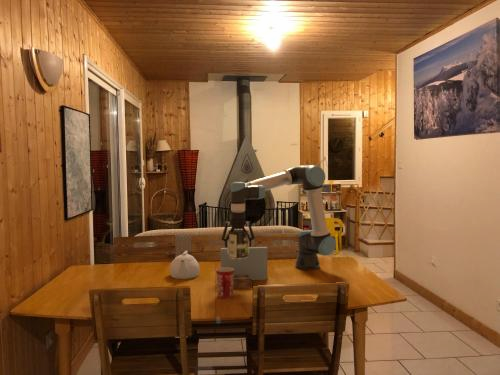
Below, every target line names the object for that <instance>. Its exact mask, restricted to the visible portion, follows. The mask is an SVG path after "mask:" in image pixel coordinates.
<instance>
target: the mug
mask: <svg viewBox="0 0 500 375" xmlns="http://www.w3.org/2000/svg"><path fill="white" fill-rule="evenodd" d="M215 274H216V285H217V287H216V290H217V297H218V298H219V299H230V298H232V297H233V296H234V288H233V277H234V269H233V268H229V267H222V268H221V267H218V268H216V269H215Z"/></svg>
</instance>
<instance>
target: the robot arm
mask: <svg viewBox="0 0 500 375" xmlns="http://www.w3.org/2000/svg"><path fill="white" fill-rule="evenodd" d="M325 181H326V173H325V170H324V169H323V168H322V167H321V166H319V165H314V164H311V165H310V164H309V165H308V164H301V165H296V166H293V167H290V168H287V169H283V171H281V172H279V173H276V174H272V175H269V176H265V177H262V178H257V179H254V180H251V181H248V182H244V181H233V182H231V184H230V211H231V212H230V221H224V228H223V231H222V235H221V240H222V241H223V242H224V248H227V254H229V233H227V231H228V227H229V226H230V225H231V228H230V230H229V231H230V232H233V231H234V230H243V231H244V232H246V230H247V229H246V228H245V226H246V225H247V226H248V230H249V234H248V253H249V247H252V241H253V240H255V238H256V237H255V234H254V231H253V228H252V221H251V220H249V221H248V220H246V212H245V211H246V201H247V200H261V199H263V198H266V191H269V190H272V189H275V188H280V187H283V186H291V185H301V186H302V190H303V191H304V192H305V193H306V199H307V205H308V211H309V216H310V224H311V228H312V229H305V230H300V231H299V232H298V236H297V239H298V240H297V241H298V242H297V246H298V249H297V250H298V251H297V257H296V260H295V268H297V269H301V270H317V269H319V268H320V266H321V264H320V261H319V257H318V255H321V256H330V255H331V254H333V252H334V251H335V249H336V246H337V241H336V239H335V237H333V236H332V235H331V231H330V229H328V226H327V221H326V220H327V219H326V215H325V209H324V203H323V202H324V201H323V196H322V189H323V187H324V186H323V185H324V183H325ZM226 234H227V235H226ZM250 236H251V237H250Z"/></svg>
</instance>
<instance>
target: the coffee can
mask: <svg viewBox="0 0 500 375" xmlns="http://www.w3.org/2000/svg"><path fill="white" fill-rule="evenodd" d="M245 230H246V232H244V231H243V229H234V231H233V232H230V230H227V231H228V233H229V239H228V241H229V258H230V259H246V258H248V240H249V239H248V235H249V231H248V230H247V229H245ZM228 233H227V234H228Z"/></svg>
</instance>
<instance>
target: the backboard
mask: <svg viewBox="0 0 500 375" xmlns="http://www.w3.org/2000/svg"><path fill="white" fill-rule="evenodd" d="M222 267H229V268H233V269H234V275H248V276H249V278H252V281H255V280H256V281H258V280H260V281H261V280H268V247H267V246H255V247H252V246H251V247H249V253H248V258H246V259H230V258H229V254H227V248H226V247H221V248H220V268H222Z"/></svg>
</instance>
